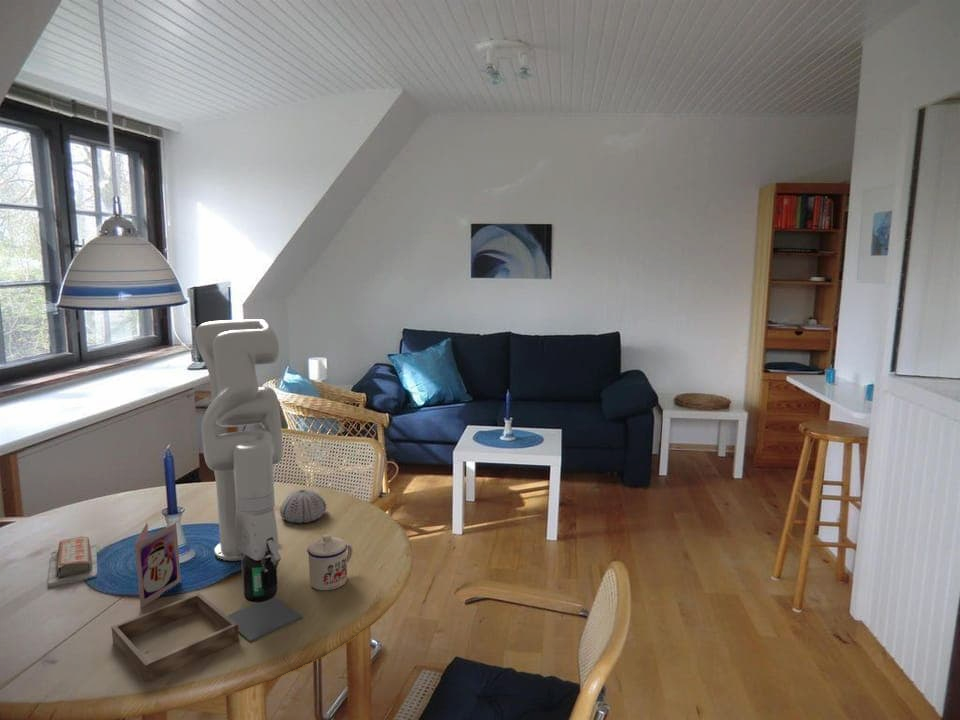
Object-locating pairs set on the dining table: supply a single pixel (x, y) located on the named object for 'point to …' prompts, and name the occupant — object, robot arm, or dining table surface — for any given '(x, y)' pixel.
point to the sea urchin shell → (302, 506)
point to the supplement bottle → (255, 581)
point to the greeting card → (157, 562)
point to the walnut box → (183, 654)
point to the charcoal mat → (263, 618)
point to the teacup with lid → (328, 562)
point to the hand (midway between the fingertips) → (260, 580)
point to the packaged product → (72, 561)
